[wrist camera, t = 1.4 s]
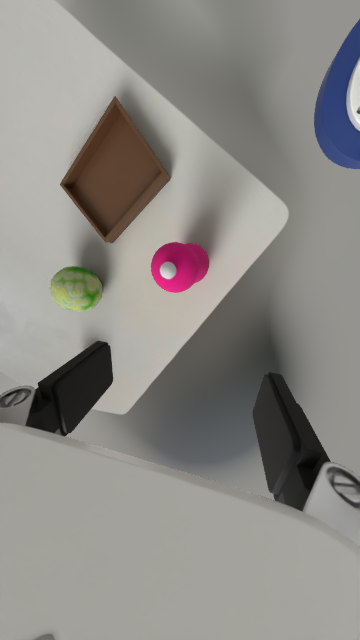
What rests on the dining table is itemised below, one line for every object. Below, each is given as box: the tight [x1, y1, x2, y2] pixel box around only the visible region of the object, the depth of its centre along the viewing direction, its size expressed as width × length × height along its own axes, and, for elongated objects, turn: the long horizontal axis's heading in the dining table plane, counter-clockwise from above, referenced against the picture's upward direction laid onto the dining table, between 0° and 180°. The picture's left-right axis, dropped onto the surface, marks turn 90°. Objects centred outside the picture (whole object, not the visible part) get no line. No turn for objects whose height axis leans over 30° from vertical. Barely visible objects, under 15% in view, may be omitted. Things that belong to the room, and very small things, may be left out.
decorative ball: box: [50, 266, 103, 312], centre depth 38 cm, size 10×10×10 cm
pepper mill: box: [151, 242, 209, 293], centre depth 27 cm, size 7×7×20 cm
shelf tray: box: [60, 96, 170, 243], centre depth 32 cm, size 17×13×3 cm
